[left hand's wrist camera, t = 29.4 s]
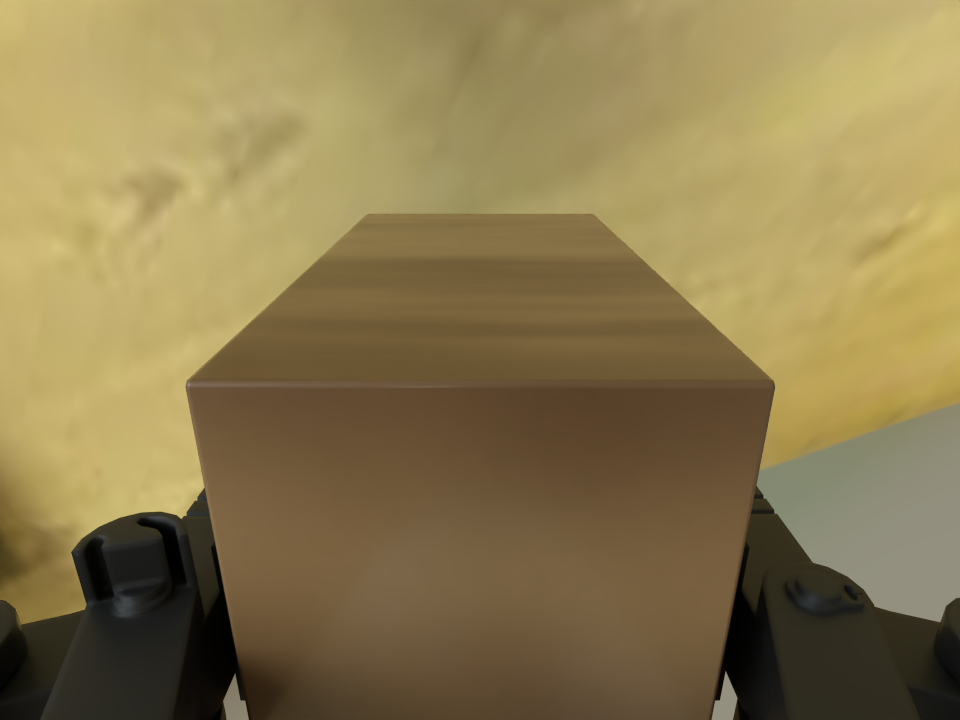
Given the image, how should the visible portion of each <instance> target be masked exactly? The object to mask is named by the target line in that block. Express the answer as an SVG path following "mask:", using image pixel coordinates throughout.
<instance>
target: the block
mask: <svg viewBox="0 0 960 720" xmlns="http://www.w3.org/2000/svg"><path fill="white" fill-rule="evenodd" d="M774 390H775V385H774V381H773V380H772V379H771V378H770V377H769V376H768V375H767V374H766V373H765V372H763V371H762V370H761V369H760V368H759V367H758V366H757V365H756V364H755V363H754V362H753V361H752V360H751V359H749V358H748V357H747V356H746V355H745V354H744V353H743V352H742V351H741V350H740V349H739V348H738V347H736V346H735V345H734V344H733V343H732V342H731V341H730V340H729V339H728V338H727V337H726V336H725V335H723V334H722V333H721V332H720V331H719V330H718V329H717V328H716V327H715V326H714V325H713V324H712V323H710V322H709V321H708V320H707V319H706V318H705V317H704V316H703V315H702V314H701V313H700V312H699V311H697V310H696V309H695V308H694V307H693V306H692V305H691V304H690V303H689V302H688V301H687V300H686V299H684V298H683V297H682V296H681V295H680V294H679V293H678V292H677V291H676V290H675V289H674V288H673V287H671V286H670V285H669V284H668V283H667V282H666V281H665V280H664V279H663V278H662V277H661V276H660V275H658V274H657V273H656V272H655V271H654V270H653V269H652V268H651V267H650V266H649V265H648V264H647V263H646V262H644V261H643V260H642V259H641V258H640V257H639V256H638V255H637V254H636V253H635V252H634V251H633V250H631V249H630V248H629V247H628V246H627V245H626V244H625V243H624V242H623V241H622V240H621V239H620V238H618V237H617V236H616V235H615V234H614V233H613V232H612V231H611V230H610V229H609V228H608V227H607V226H605V225H604V224H603V223H602V222H601V221H600V220H599V219H598V218H597V217H596V216H595V215H593V214H367V215H366V216H365V217H364V218H363V219H362V220H361V221H359V222H358V223H357V224H356V225H355V226H354V227H353V228H352V229H351V230H350V231H349V232H348V233H346V234H345V235H344V236H343V237H342V238H341V239H340V240H339V241H338V242H337V243H336V244H335V245H333V246H332V247H331V248H330V249H329V250H328V251H327V252H326V253H325V254H324V255H323V256H322V257H320V258H319V259H318V260H317V261H316V262H315V263H314V264H313V265H312V266H311V267H310V268H309V269H307V270H306V271H305V272H304V273H303V274H302V275H301V276H300V277H299V278H298V279H297V280H296V281H294V282H293V283H292V284H291V285H290V286H289V287H288V288H287V289H286V290H285V291H284V292H283V293H281V294H280V295H279V296H278V297H277V298H276V299H275V300H274V301H273V302H272V303H271V304H269V305H268V306H267V307H266V308H265V309H264V310H263V311H262V312H261V313H260V314H259V315H258V316H256V317H255V318H254V319H253V320H252V321H251V322H250V323H249V324H248V325H247V326H246V327H245V328H243V329H242V330H241V331H240V332H239V333H238V334H237V335H236V336H235V337H234V338H233V339H232V340H230V341H229V342H228V343H227V344H226V345H225V346H224V347H223V348H222V349H221V350H220V351H219V352H217V353H216V354H215V355H214V356H213V357H212V358H211V359H210V360H209V361H208V362H207V363H206V364H204V365H203V366H202V367H201V368H200V369H199V370H198V371H197V372H196V373H195V374H194V375H193V376H191V377H190V378H189V379H188V380H187V383H186V392H187V397H188V402H189V407H190V413H191V418H192V423H193V428H194V434H195V439H196V444H197V449H198V455H199V460H200V465H201V470H202V476H203V481H204V486H205V491H206V497H207V502H208V507H209V512H210V518H211V523H212V528H213V533H214V539H215V544H216V549H217V554H218V560H219V565H220V570H221V575H222V581H223V586H224V591H225V596H226V602H227V607H228V612H229V617H230V623H231V628H232V633H233V638H234V644H235V649H236V654H237V659H238V665H239V670H240V675H241V680H242V685H243V691H244V696H245V701H246V706H247V712H248V717H249V720H711V719H712V714H713V708H714V703H715V698H716V693H717V688H718V682H719V677H720V672H721V667H722V661H723V656H724V651H725V646H726V641H727V635H728V630H729V625H730V620H731V614H732V609H733V604H734V599H735V594H736V588H737V583H738V578H739V573H740V567H741V562H742V557H743V552H744V547H745V541H746V536H747V531H748V526H749V520H750V515H751V510H752V505H753V500H754V494H755V489H756V484H757V479H758V474H759V468H760V463H761V458H762V453H763V447H764V442H765V437H766V432H767V427H768V421H769V416H770V411H771V406H772V400H773V395H774Z"/></svg>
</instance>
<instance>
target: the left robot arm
mask: <svg viewBox="0 0 960 720" xmlns="http://www.w3.org/2000/svg"><path fill="white" fill-rule="evenodd" d="M71 553H72V557H73V560H74V563H75V567H76V570H77V573H78V577H79V580H80V583H81V587H82V590H83V594H84V597H85V600H86V604H87V605H86V608H85V610H82V611H79V612H75V613H72V614H68V615H63V616H59V617H54V618H50V619H45V620H41V621H36V622H32V623H27V624H23V625H21V624H20V621H19V618H18V615H17V612H16V609H15V608H14V607H13V606H11V605H10V604H9V603H7V602H6V601H2V600H0V720H226V714H225V708H224V704H223V700H224V697H225V695H226V693H227V690H228V688H229V686H230V683H231V681H232V679H233V677H234V674H236V678H237V684H238V689H239V694H240V700H245V696H244V691H243V685H242V680H241V675H240V670H239V665H238V659H237V654H236V649H235V644H234V638H233V633H232V628H231V623H230V617H229V612H228V607H227V602H226V596H225V591H224V586H223V581H222V575H221V570H220V565H219V560H218V554H217V549H216V544H215V539H214V533H213V528H212V523H211V518H210V512H209V507H208V502H207V497H206V491H205V488H204V489H203V491H202V492H201V493H200V495H199V496H198V500H197V501H195V502H194V503H193V504H192V506H191V507H190V508H189V510H188V511H187V516H184V517H183V518H182V519H180V518H179V517H178V516H177V515H173V514H169V513H164V512H144V513H138V514H134V515H130V516H125V517H121V518H118V519H116V520H114V521H111V522H109V523H107V524H105V525H102V526H100V527H98V528H97V529H95V530H94V531H92V532H91V533H90V534H88V535H87V536H85V537H84V538H82V539H81V541H80V542H79V543H78V544H77V546H76V547H75V548H74V549H73V551H72V552H71ZM725 671H726V672H727V675H728V677H729V679H730V682H731V684H732V686H733V688H734V691H735V693H736V695H737V698H738V699H737V704H736V708H735V713H734V718H733V720H960V598H956V599H955V600H953V601H952V602H951V603H950V604H948V605H947V606H946V608H945V611H944V614H943V617H942V620H941V622H936V621H931V620H927V619H922V618H918V617H913V616H909V615H904V614H900V613H895V612H891V611H887V610H884V609H880V608H877V607H874V604H873V603H872V601H871V600H870V598H869V597H868V595H867V594H866V592H865V591H864V590H863V589H862V588H861V587H860V586H858V585H857V584H856V583H855V582H853V581H852V580H851V579H850V578H848V577H847V576H845V575H843V574H841V573H839V572H837V571H835V570H833V569H831V568H829V567H826V566H822V565H819V564H815V563H813V562H812V561H811V560H810V558H809V557H808V556H807V554H806V553H805V552H804V550H803V549H802V547H801V546H800V545H799V543H798V542H797V541H796V539H795V538H794V536H793V535H792V534H791V532H790V531H789V530H788V528H787V527H786V526H785V524H784V523H783V521H782V520H781V519H780V517H779V516H778V515H777V514H774V509H773V508H772V507H771V505H770V504H769V502H768V501H767V500H766V499H764V498H763V494H762V493H761V491H760V490H759V489H758V487H757V486H756V489H755V494H754V500H753V505H752V510H751V515H750V520H749V526H748V531H747V536H746V541H745V547H744V552H743V557H742V562H741V567H740V573H739V578H738V583H737V588H736V594H735V599H734V604H733V609H732V614H731V620H730V625H729V630H728V635H727V641H726V646H725V651H724V656H723V661H722V667H721V672H720V677H719V682H718V688H717V693H716V698H715V700H720V697H721V692H722V686H723V681H724V676H725Z"/></svg>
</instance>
